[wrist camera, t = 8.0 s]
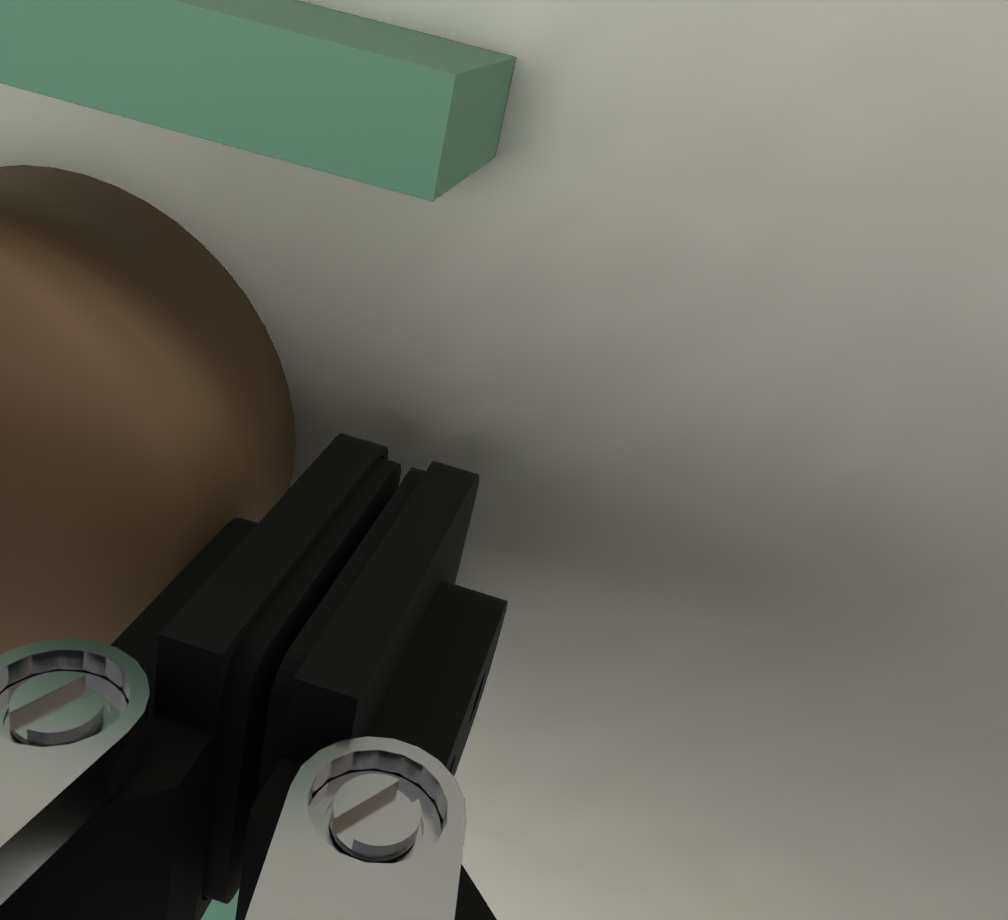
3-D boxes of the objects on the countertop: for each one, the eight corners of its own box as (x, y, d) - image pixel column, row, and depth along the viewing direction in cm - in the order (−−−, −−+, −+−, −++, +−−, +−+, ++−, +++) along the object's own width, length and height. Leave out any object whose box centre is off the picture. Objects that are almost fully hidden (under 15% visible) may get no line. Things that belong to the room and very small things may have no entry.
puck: (328, 246, 11) (204, 325, 8) (266, 644, 14) (160, 798, 11) (-145, 104, 11) (-406, 136, 9) (-111, 519, 14) (-301, 638, 12)
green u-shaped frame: (515, 57, 10) (456, 74, 7) (358, 809, 15) (295, 952, 12) (-261, -145, 10) (-529, -185, 8) (-155, 642, 15) (-301, 749, 13)
